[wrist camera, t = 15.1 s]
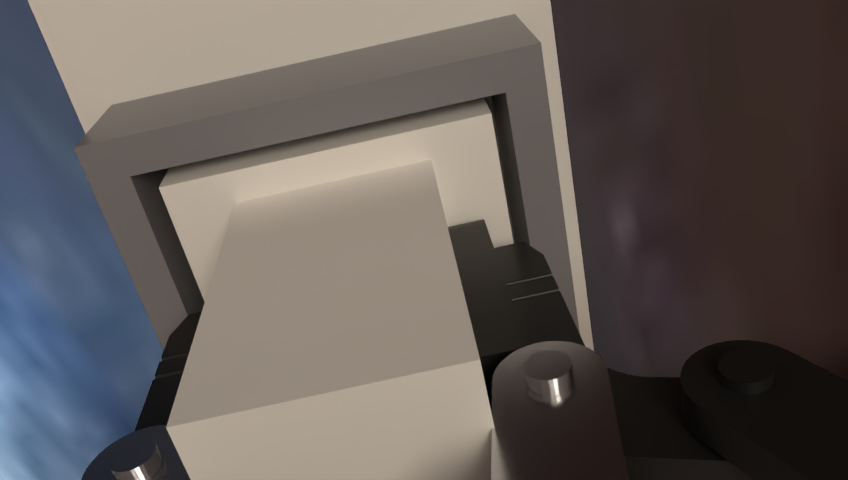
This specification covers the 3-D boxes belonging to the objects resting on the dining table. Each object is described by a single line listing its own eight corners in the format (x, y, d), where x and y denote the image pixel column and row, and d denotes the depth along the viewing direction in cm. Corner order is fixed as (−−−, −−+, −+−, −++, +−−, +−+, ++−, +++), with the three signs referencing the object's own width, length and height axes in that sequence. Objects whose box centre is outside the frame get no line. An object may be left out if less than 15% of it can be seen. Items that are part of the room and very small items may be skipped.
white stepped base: (589, 470, 21) (645, 619, 17) (299, 532, 21) (287, 693, 17) (504, -140, 14) (565, -129, 10) (72, -40, 14) (-37, 9, 10)
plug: (529, 395, 16) (637, 733, 10) (297, 445, 17) (267, 811, 10) (472, 74, 13) (579, 291, 7) (184, 140, 13) (39, 410, 7)
